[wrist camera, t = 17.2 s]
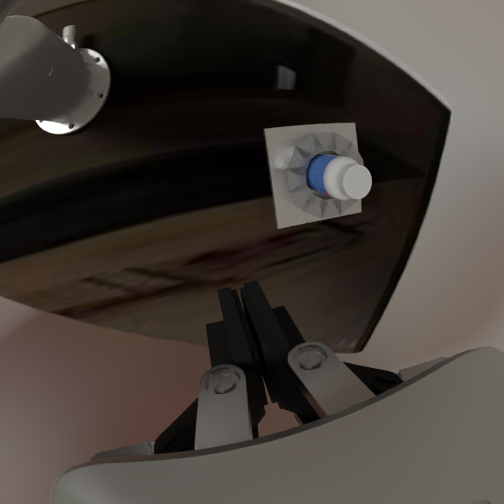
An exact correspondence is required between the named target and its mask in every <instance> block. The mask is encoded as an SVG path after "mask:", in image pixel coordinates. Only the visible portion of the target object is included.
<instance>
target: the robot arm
mask: <svg viewBox="0 0 504 504" xmlns="http://www.w3.org/2000/svg"><path fill="white" fill-rule="evenodd" d="M20 1H21V0H0V117H2V118H16V119H27V120H36V122H37V123H38V125H39V126H40V127H41V128H42V129H43V130H45V131H47V132H49V133H52V134H61V135H62V134H69V133H72V132H75V131H77V130H79V129H81V128H83V127H84V126H86V125H87V124H88V123H90V122H91V121H92V120H93V119H94V118H95V117H96V115H97V114H98V113H99V111H100V110H101V109H102V107H103V105H104V103H105V101H106V100H107V97H108V94H109V91H110V86H111V73H110V68H109V66H108V63H107V61H106V60H105V59H104V58H103V57H102V56H101V55H100V54H99V53H98V52H96V51H94V50H91V49H86V48H78V43H76V42H75V37H76V26H74V25H71V26H67V27H65V28H64V29H63V39H62V38H60V37H59V36H58V35H57V34H55V33H54V32H53V31H51V30H50V29H49V28H48V27H46V26H45V25H44V24H42V23H41V22H39V21H38V20H36V19H34V18H32V17H28V16H10V17H7V16H8V15H9V13H10V12H11V11H12V10H13V9H14V7H15V6H16V5H17V4H18V3H19V2H20ZM99 60H100V61H99ZM98 61H99V62H98ZM101 95H103V97H102V98H101ZM73 125H74V127H73ZM217 291H218V296H219V301H220V305H221V310H222V314H223V319H224V321H219V322H215V323H210V324H206V330H207V337H208V345H209V352H210V358H211V366H212V368H210V369H209V370H208V371H206V372H205V373H204V375H203V376H202V377H201V381H200V387H199V397H198V398H197V399H196V400H195V401H194V402H193V403H192V404H191V405H190V406H189V407H188V408H187V409H186V410H185V411H184V412H183V413H182V414H181V415H180V416H179V417H178V418H177V419H176V420H175V421H174V422H173V423H172V424H171V425H170V426H169V427H168V428H167V429H166V430H165V431H164V432H163V433H162V434H160V435H159V437H158V438H157V439H156V441H155V442H152V443H149V442H148V441H145V442H141V443H137V444H133V445H130V446H126V447H121V448H117V449H113V450H108V451H103V452H100V453H97V454H96V455H94V456H93V457H92V458H91V460H90V461H87V462H84V463H81V464H78V465H75V466H72V467H70V468H68V469H66V470H65V471H63V472H62V473H61V474H60V475H59V476H58V477H57V479H56V480H55V483H54V485H53V487H52V490H51V494H50V498H49V503H48V504H504V352H502V351H501V350H499V349H496V348H493V347H480V348H475V349H472V350H467V351H464V352H462V353H459V354H456V355H454V356H452V357H440V358H438V359H434V360H431V361H428V362H425V363H422V364H419V365H415V366H412V367H408V368H405V369H401V370H399V373H397V374H395V373H393V372H390V371H386V370H380V369H375V368H370V367H365V366H360V365H355V364H351V363H346V362H342V361H341V360H340V359H339V358H338V357H337V356H336V355H335V354H334V353H333V352H332V351H331V350H330V349H329V348H328V347H327V346H325V345H324V344H321V343H317V342H305V340H304V339H303V337H302V335H301V334H300V332H299V330H298V328H297V327H296V325H295V323H294V322H293V320H292V318H291V317H290V315H289V313H288V312H287V310H286V308H285V307H284V306H280V307H276V308H273V309H272V308H271V307H270V305H269V303H268V301H267V299H266V297H265V295H264V293H263V291H262V289H261V287H260V285H259V283H258V281H254V282H249V283H245V284H244V287H243V288H240V292H241V297H242V302H243V307H244V311H243V308H242V305H241V302H240V299H239V297H238V294H237V291H236V289H235V290H231V288H230V287H228V288H224V289H219V290H217ZM244 312H245V314H244ZM262 376H263V377H262ZM263 379H264V382H265V385H266V388H267V390H268V393H269V396H270V399H271V401H272V403H274V402H278V405H279V408H280V409H282V408H283V409H285V410H288V411H291V412H293V416H294V418H295V419H296V421H297V423H298V424H299V426H298V427H295V428H292V429H289V430H285V431H282V432H278V433H275V434H271V435H267V436H263V437H260V429H259V425H258V423H259V422H260V420H261V419H262V418H263V417H264V415H265V409H264V405H267V404H268V402H267V397H266V392H265V387H264V382H263Z"/></svg>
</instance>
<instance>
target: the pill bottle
mask: <svg viewBox="0 0 504 504" xmlns="http://www.w3.org/2000/svg"><path fill="white" fill-rule="evenodd" d="M306 181H307V185H308V186H309V187H310V188H311V189H313V190H314V191H317V192H320V193H322V194H325V195H328V196H330V197H333V198H335V199H338V200H349V199H361V198H363V197H365V196H366V195H367V194H368V192H369V191H370V188H371V185H372V178H371V174H370V172H369V170H368V169H367V168H366V167H364V166H362V165H359V164H358V163H357V162H356V161H355V160H353V159H352V158H349V157H344V156H334V155H325V154H317V155H315V156H314V157H313V158H312V159H310V162H309V164H308V167H307V169H306Z"/></svg>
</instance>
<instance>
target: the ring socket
mask: <svg viewBox="0 0 504 504" xmlns="http://www.w3.org/2000/svg"><path fill="white" fill-rule="evenodd" d="M263 134H264V140H265V147H266V154H267V161H268V168H269V175H270V182H271V190H272V197H273V205H274V212H275V220H276V227H277V228H278V229H280V228H285V227H290V226H295V225H299V224H304V223H309V222H314V221H319V220H324V219H329V218H334V217H339V216H344V215H349V214H354V213H359V212H361V199H349V200H338V199H335V198H333V197H330V196H328V195H325V194H322V193H320V192H317V191H314V190H313V189H311V188H310V187H309V186H308V185H307V181H306V169H307V167H308V164H309V162H310V159H312V158H313V157H314V156H315V155H317V154H325V155H334V156H344V157H349V158H352V159H353V160H355V161H356V162H357V163H358V164H359V165H362V166H363V159H362V158H361V156H360V154H359V153H358V147H357V137H356V128H355V123H331V124H312V125H298V126H287V127H277V128H268V129H263Z"/></svg>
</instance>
